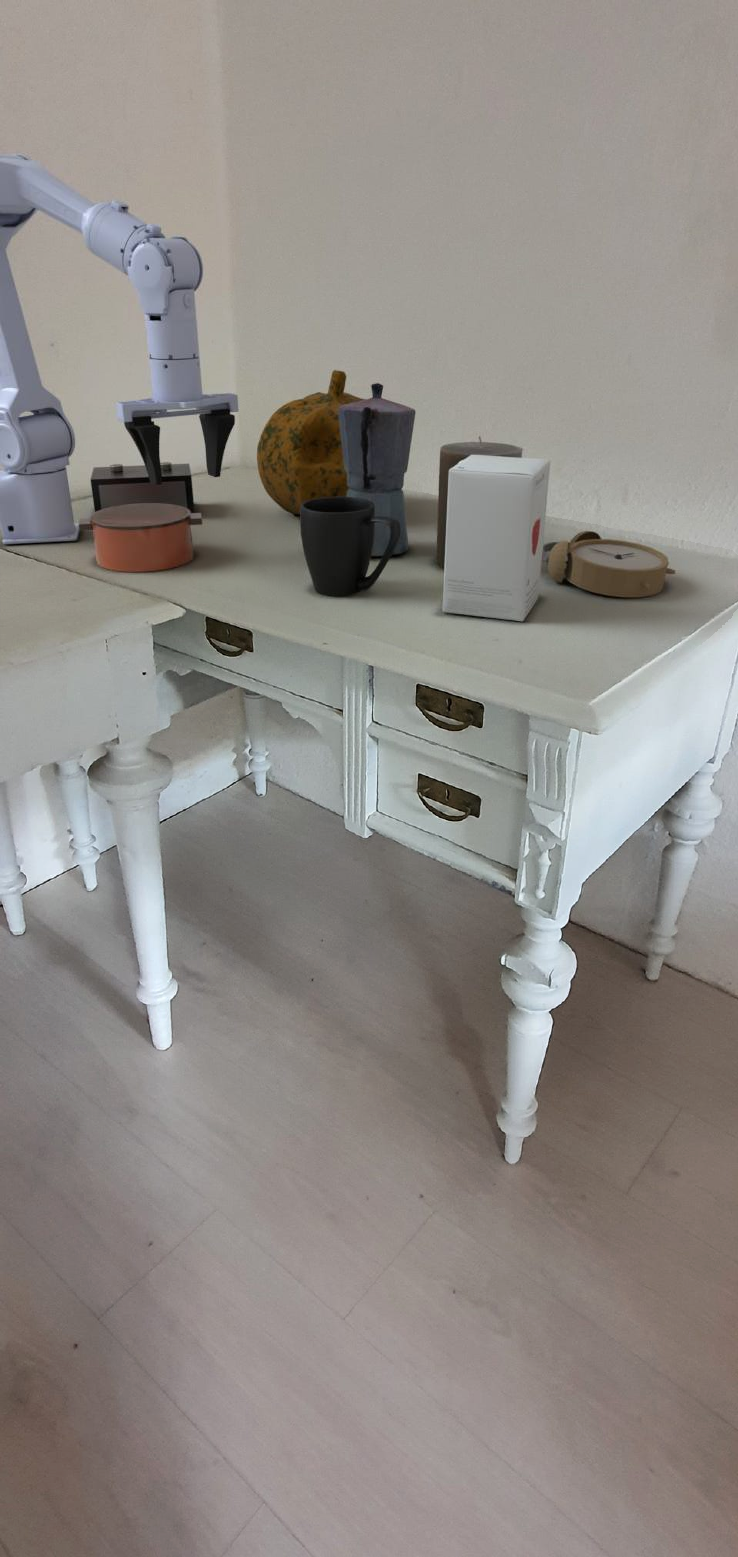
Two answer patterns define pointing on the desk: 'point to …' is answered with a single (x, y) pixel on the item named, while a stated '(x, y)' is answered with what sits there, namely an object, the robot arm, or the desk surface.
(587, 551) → the alarm clock
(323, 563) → the mug
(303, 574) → the desk surface
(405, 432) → the moka pot
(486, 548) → the rectangular carton
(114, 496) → the appliance
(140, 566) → the saucepan
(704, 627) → the desk surface
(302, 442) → the decorative pumpkin
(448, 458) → the pillar candle
